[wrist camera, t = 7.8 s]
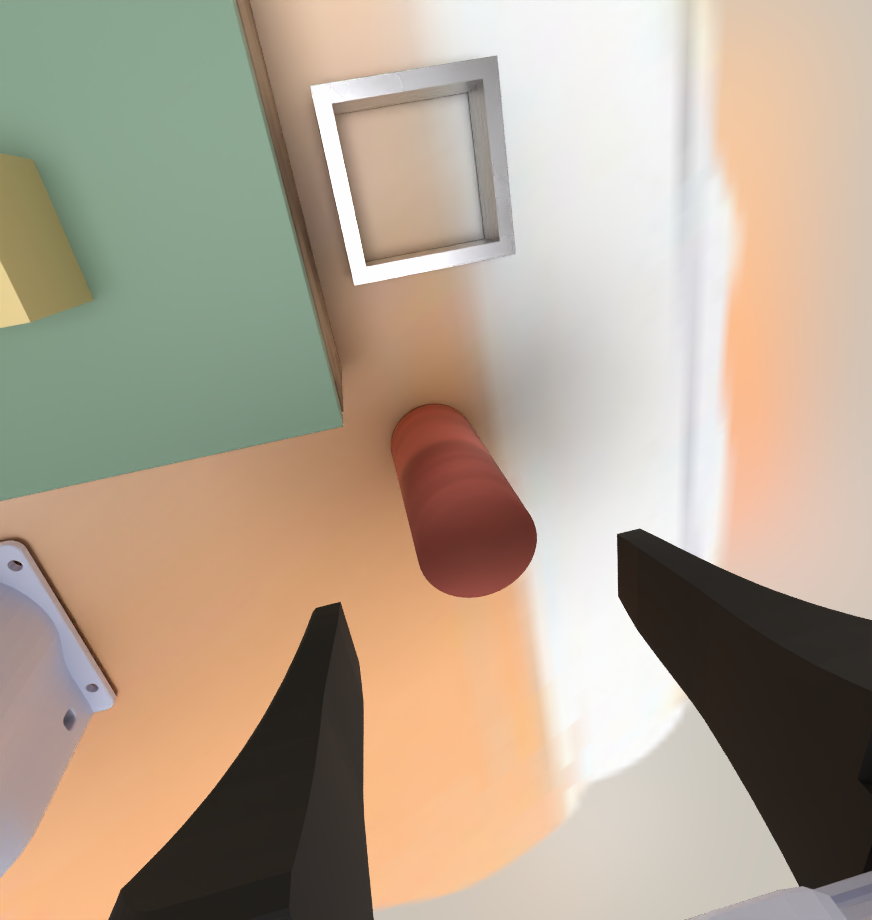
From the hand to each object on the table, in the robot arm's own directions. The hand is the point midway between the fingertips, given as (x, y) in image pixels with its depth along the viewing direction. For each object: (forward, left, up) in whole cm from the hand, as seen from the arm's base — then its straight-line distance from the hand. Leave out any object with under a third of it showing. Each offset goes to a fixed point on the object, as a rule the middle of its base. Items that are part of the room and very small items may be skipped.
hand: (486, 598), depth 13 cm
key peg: (0, 0, -10) cm, 10 cm away
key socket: (+10, -1, -10) cm, 14 cm away
